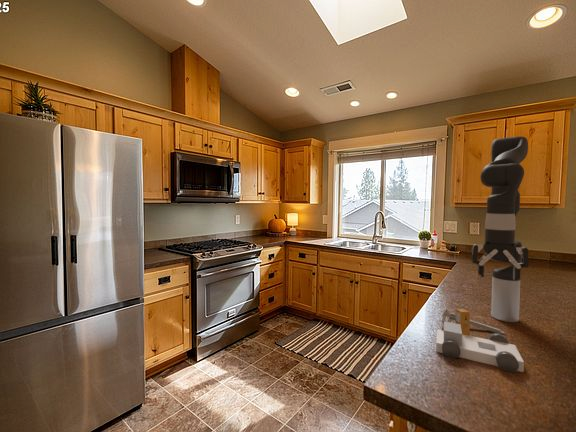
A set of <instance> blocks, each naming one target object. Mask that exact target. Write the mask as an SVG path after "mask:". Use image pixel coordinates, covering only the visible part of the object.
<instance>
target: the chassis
mask: <svg viewBox="0 0 576 432" xmlns="http://www.w3.org/2000/svg"><path fill="white" fill-rule="evenodd" d="M436 352H437V353H440V354H444V356H446V357H447V358H450V359H458V358H462V359H465V360H469V361H470V360H471V361H474V362H479V363H482V364H487V365H490V366H491V365H492V366H495V367H499V368H500V369H501V370H502V371H504V372H506V373H513V372H520V373H524V372H525V371H524V370H525V368H524V367H525V361H524V360H523V357H522V355H521V354H520V352H519V349H518V348H517V346H516V345H515V344H511V343H509V341H508V339H507V338H506V336H505V335H504V334H502V333H501V334H500V333H495V332H492V333H491V334H490V335H489V337H488V338H487V339H486V338H483V337H477V336H473V335H470V336H468V335H463V334H462V330H461V325H460V324H456V322H452V321H451V322H448V321H444V323H443V326H442V327H441V329H439V328H438V329H436Z"/></svg>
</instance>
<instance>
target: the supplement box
mask: <svg viewBox="0 0 576 432" xmlns="http://www.w3.org/2000/svg"><path fill="white" fill-rule="evenodd" d="M455 314H456V321H455V323H456V324H460V325H461V330H462V334H463V335H468V336H471V335H470V334H471V333H470V332H471V331H470V328H471V327H470V326H471V324H470V320H471V319H470V316H471V315H470V314H471V312H470V311H468V310H466V309H465V308H462V309H461V308H457V309H455Z"/></svg>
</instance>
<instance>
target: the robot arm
mask: <svg viewBox="0 0 576 432" xmlns="http://www.w3.org/2000/svg"><path fill="white" fill-rule="evenodd" d="M490 149H491V150H490V151H491V152H490V156H491V160H490V161H491V162H490V163H488V164H486V165H485V166H484V167H483V168H482V171H481V173H480V182H481V184H482V185H484V186H485V187H487V188H491V195H489V196H487V199H486V215H485V221H484V223H485V226H484V243H483V245H481V244H480V245H479V244H476V243H474V244H472V249H471V250H472V251H471V259H470V260H471V262H472V264H476V265H477V274H478V276H480V278H484V277H485V266H484V265H485V264H486V263H487V262H488V261H490V260H492V261H494V262H502V263H503V262H504V263H511V264H509V265H507V266H505V267H500V268H495V269H493V270H492V275H491V276H492V278H491V280H492V281H491V306H490V307H491V310H490V316H491V317H492V318H494V319H496V320H499V321H503V322H506V323H507V322H508V323H518V322H519V320H520V319H519V318H520V300H521V299H520V297H521V296H520V295H521V269H522V268H529V266H530V265H529V263H530V262H529V261H530V260H529V259H530V258H529V249H528V247H525V246H523V244H522V242H521V241H520V240H515V239H516V228H517V225H516V216H517V215H518V213H519V211H520V208H521V207H520V206H521V193H520V191H519V189H520V187H521V184H522V182H523V179H524V176H525V168H524V167H523V166H522V165H521V163H522V162H523V161H524V160H525V159H526V158H527V156H528V152H529V140H528V139H527V137H525V136H523V135H522V136H519V135H517V136H511V137H503V138H502V137H500V138H496V139H494V140H493V141H492V142H491V148H490ZM481 250H483V251H484V252H485V254H483V255H482V257H480V259H478V253H480V252H481Z"/></svg>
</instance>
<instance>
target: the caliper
mask: <svg viewBox="0 0 576 432" xmlns="http://www.w3.org/2000/svg"><path fill="white" fill-rule="evenodd" d="M446 317H447V322H451V323H452V322H453V321H455V322H456V313H454V312H451V309H449V310H448V309H447V308H446V309H445V310H443V312H442V317H441V319H442V320H441V321H442V322H441V323H442V324H444V321H445V320H446ZM445 322H446V321H445ZM471 325H472V326H473V327H474V326H475V327H477V328H481V329H484V330H487V331H489V332H492V333H499V334H502V335H506V333H505V332H504V331H502V329H499V328H497V327H494V326H490V325H487V324H484V323H481V322H478V321H475V320H471V319H470V326H471Z"/></svg>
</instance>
